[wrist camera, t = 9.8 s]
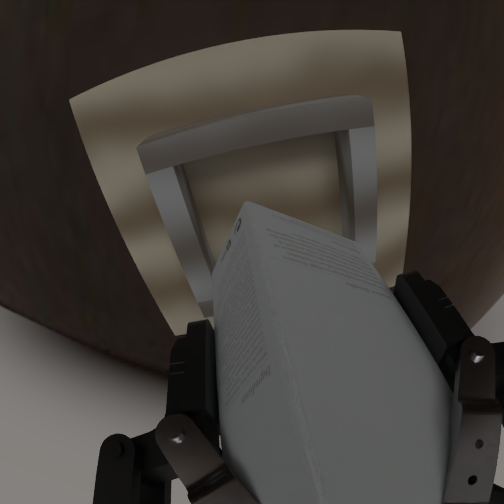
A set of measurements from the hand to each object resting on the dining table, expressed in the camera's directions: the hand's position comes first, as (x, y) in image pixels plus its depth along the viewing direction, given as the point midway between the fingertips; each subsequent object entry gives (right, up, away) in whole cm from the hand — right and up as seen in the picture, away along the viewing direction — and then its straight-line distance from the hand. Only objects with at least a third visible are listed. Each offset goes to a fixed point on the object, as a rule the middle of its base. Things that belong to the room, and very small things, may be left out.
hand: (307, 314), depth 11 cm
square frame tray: (-1, +6, +9) cm, 10 cm away
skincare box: (0, +2, +3) cm, 4 cm away
